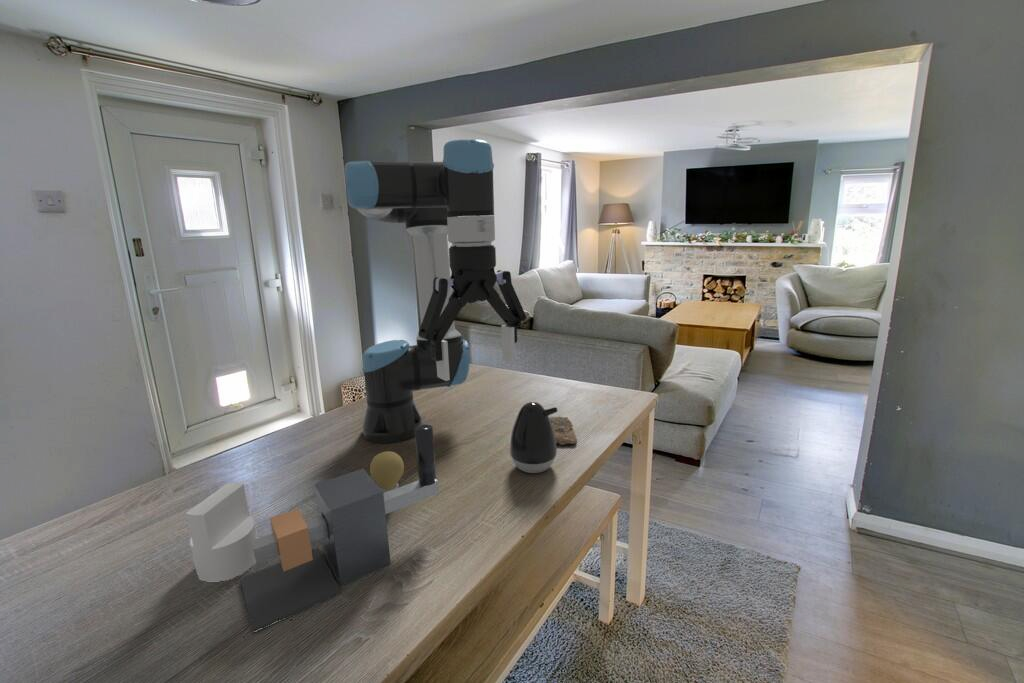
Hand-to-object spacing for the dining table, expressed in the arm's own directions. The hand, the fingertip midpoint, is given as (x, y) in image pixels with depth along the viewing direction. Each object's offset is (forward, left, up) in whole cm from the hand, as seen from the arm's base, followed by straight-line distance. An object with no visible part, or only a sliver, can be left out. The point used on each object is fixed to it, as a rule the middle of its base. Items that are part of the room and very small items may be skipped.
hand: (477, 369), depth 83 cm
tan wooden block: (-2, -32, -23) cm, 40 cm away
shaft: (-2, -23, -21) cm, 31 cm away
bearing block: (-2, -23, -28) cm, 37 cm away
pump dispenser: (-7, +18, -28) cm, 34 cm away
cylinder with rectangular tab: (-14, -40, -28) cm, 51 cm away
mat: (-2, -34, -28) cm, 44 cm away
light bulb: (-15, -12, -28) cm, 34 cm away
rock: (-15, +32, -29) cm, 45 cm away
